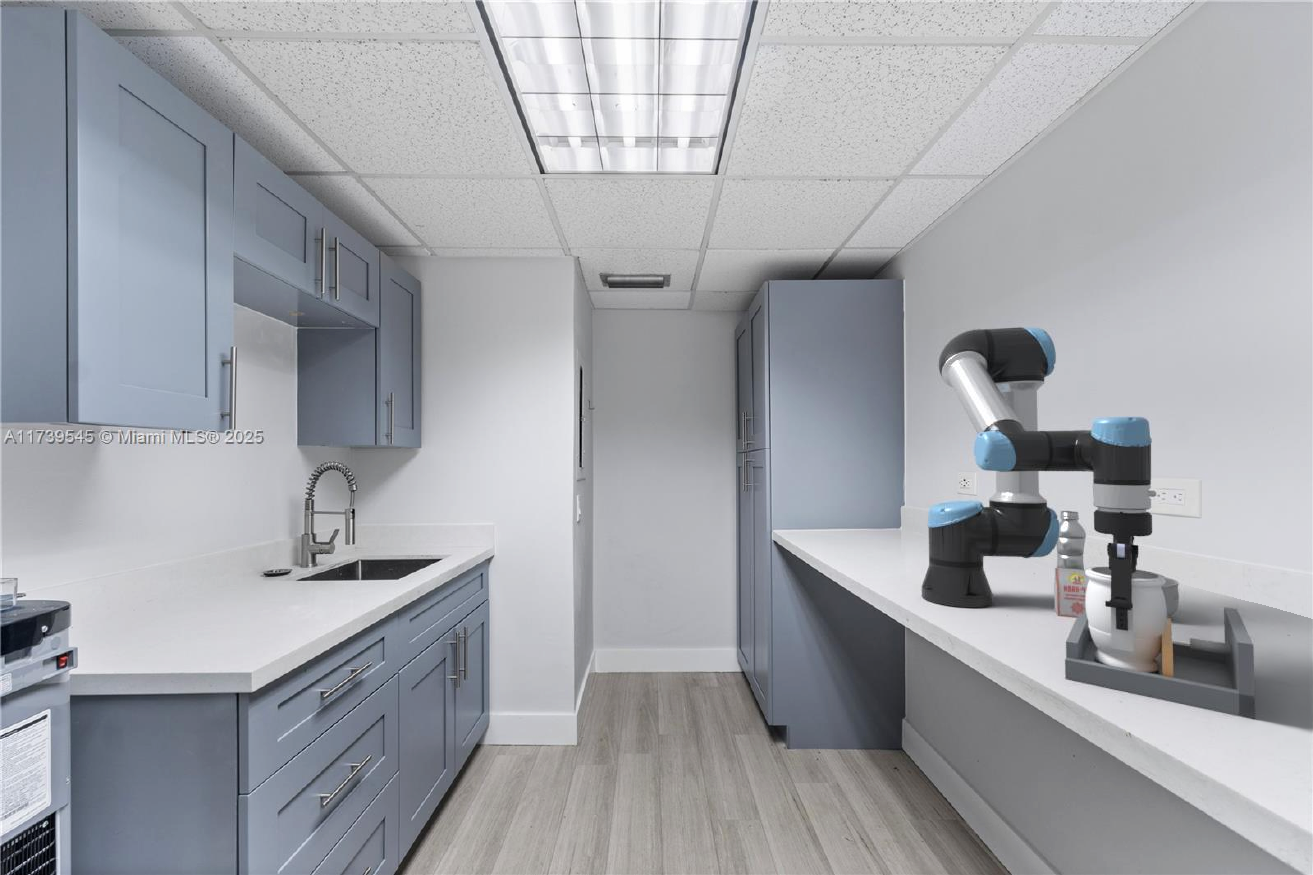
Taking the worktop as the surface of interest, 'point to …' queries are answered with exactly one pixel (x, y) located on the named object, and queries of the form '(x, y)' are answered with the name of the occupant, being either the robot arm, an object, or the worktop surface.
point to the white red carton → (1070, 592)
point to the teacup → (1171, 595)
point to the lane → (1178, 669)
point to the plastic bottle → (1070, 542)
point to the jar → (1145, 619)
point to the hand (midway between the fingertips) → (1124, 638)
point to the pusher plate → (1167, 651)
